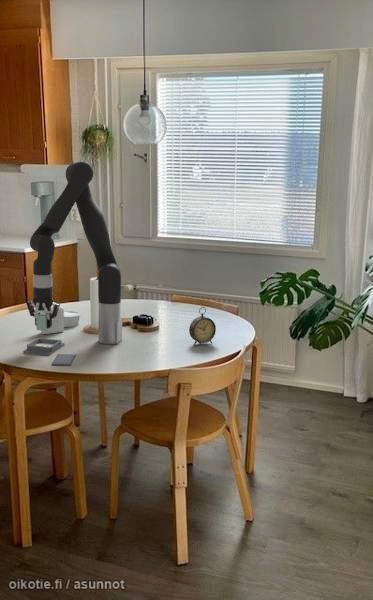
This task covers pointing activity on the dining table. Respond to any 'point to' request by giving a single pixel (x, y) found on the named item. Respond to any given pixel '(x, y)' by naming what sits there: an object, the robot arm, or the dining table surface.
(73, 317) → the ramekin
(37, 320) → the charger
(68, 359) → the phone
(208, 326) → the alarm clock
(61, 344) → the grey shallow rectangular tray
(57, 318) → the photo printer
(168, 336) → the dining table surface
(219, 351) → the dining table surface
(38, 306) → the robot arm
